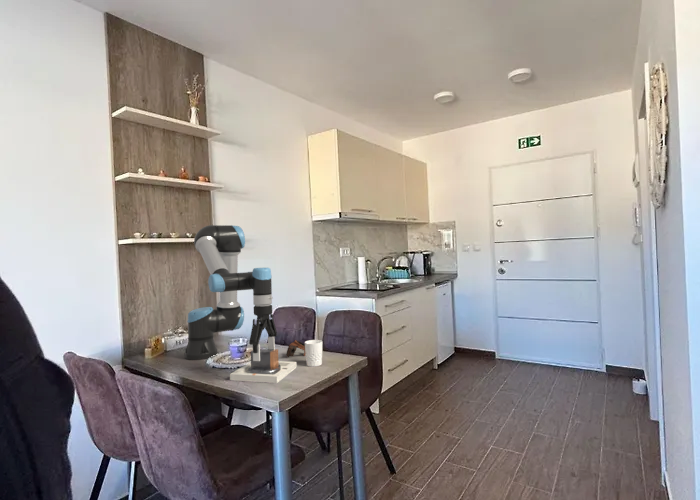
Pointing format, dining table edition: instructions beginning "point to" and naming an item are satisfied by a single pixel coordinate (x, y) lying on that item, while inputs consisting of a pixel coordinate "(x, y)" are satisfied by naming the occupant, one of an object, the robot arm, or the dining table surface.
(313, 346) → the white cup
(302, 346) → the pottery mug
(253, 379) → the dial panel
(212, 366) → the dining table surface
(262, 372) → the dial
